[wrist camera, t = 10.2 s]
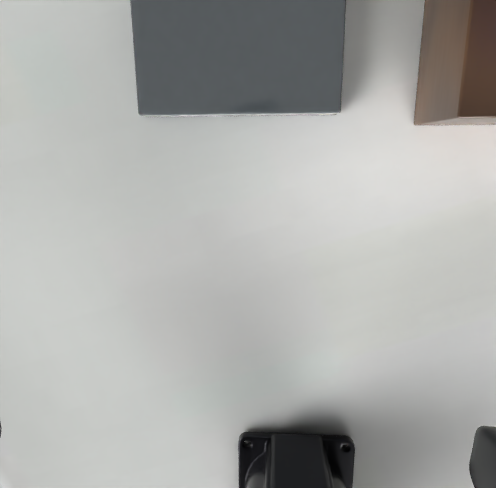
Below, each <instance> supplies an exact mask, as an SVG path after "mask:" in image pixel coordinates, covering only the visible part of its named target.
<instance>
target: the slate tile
mask: <svg viewBox="0 0 496 488" xmlns="http://www.w3.org/2000/svg"><path fill="white" fill-rule="evenodd" d="M131 14H132V29H133V43H134V57H135V71H136V85H137V99H138V113H139V115H141V116H145V117H198V116H282V115H336V114H338V113H340V112H341V97H342V76H343V55H344V35H345V14H346V0H131Z"/></svg>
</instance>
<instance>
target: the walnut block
mask: <svg viewBox="0 0 496 488" xmlns="http://www.w3.org/2000/svg"><path fill="white" fill-rule="evenodd" d="M414 125H496V0H425V7H424V18H423V29H422V39H421V50H420V61H419V72H418V83H417V94H416V105H415V116H414Z"/></svg>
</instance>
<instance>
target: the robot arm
mask: <svg viewBox="0 0 496 488" xmlns="http://www.w3.org/2000/svg"><path fill="white" fill-rule="evenodd" d="M0 437H1V423H0ZM244 441H250V443H245V442H244ZM343 445H348V446H347V447H342V446H343ZM238 450H239V488H352V483H353V468H354V454H355V447H354V443H353V440H352V439H351V438H350V437H348V436H338V435H312V434H287V433H262V432H244V433H242V434H241V435H240V437H239V443H238ZM469 469H470V475H471V479H472V482H473V484H474V487H475V488H496V427H492V426H481V427H479V428H478V429H477V430H476V433H475V438H474V443H473V448H472V453H471V458H470V464H469Z"/></svg>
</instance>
